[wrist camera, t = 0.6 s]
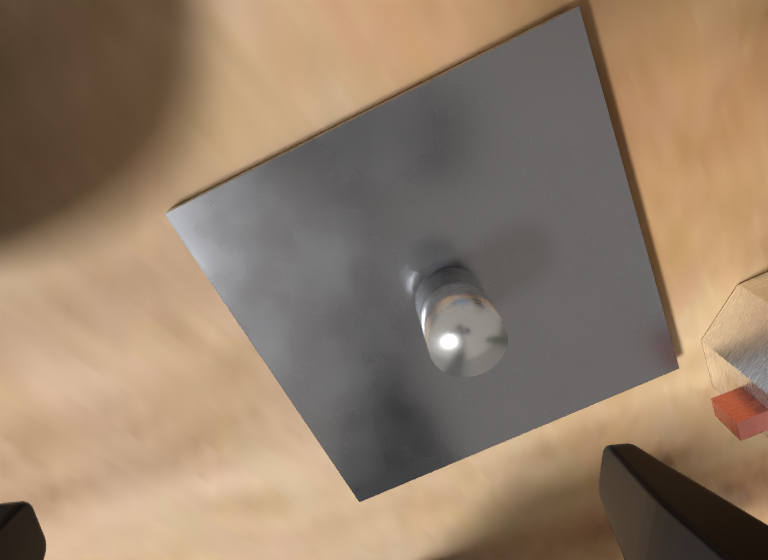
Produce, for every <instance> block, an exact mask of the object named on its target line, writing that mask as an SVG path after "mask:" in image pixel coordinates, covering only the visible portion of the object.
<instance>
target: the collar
mask: <svg viewBox="0 0 768 560" xmlns="http://www.w3.org/2000/svg"><path fill="white" fill-rule="evenodd" d="M701 341H702V345H703V349H704V353H705V357H706V361H707V365H708V369H709V373H710V377H711V381H712V385H713V388H714V389H715V390H716V391H717V392H719V393H720V394H721V395H719V396H717V397H714V398H712V399H711V400H712V404H713V408H714V412H715V416H716V417H717V418H718V419H719V420H720V421H721V422H722V423H723V424H724V425H725V426H726V427H727V428H728V429H729V430H730V431H731V432H732V433H733V434H734V435H735V436H737V437H738V438H739V439H740V440H741V441H742V440H744V439H747V438H749V437H752V436H754V435H757V434H759V433H763V434H765V435H766V436H767V437H768V272H766V273H764V274H761V275H759V276H757V277H754V278H752V279H750V280H747V281H745V282H743V283H740V284H738V285H737V287H736V288H735V290H734V291H733V293H732V294H731V296H730V297H729V299H728V300H727V302H726V303H725V305H724V306H723V308H722V309H721V311H720V313H719V314H718V316H717V317H716V319H715V320H714V322H713V323H712V325H711V326H710V328H709V329H708V331H707V332H706V334H705V335H704V337H703V338H702V340H701Z"/></svg>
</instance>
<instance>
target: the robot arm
mask: <svg viewBox="0 0 768 560" xmlns="http://www.w3.org/2000/svg"><path fill="white" fill-rule="evenodd" d="M599 493H600V498H601V501H602V503H603V506H604V508H605V511H606V513H607V516H608V519H609V521H610V524H611V526H612V529H613V531H614V534H615V536H616V539H617V541H618V544H619V546H620V549H621V551H622V554H623V556H624V559H625V560H768V525H766V524H765V523H763V522H761V521H760V520H758V519H756V518H755V517H753V516H751V515H750V514H748V513H747V512H745V511H743V510H742V509H740V508H738V507H737V506H735V505H733V504H732V503H730V502H728V501H727V500H725V499H723V498H722V497H720V496H718V495H717V494H715V493H713V492H712V491H710V490H708V489H707V488H705V487H703V486H702V485H700V484H698V483H697V482H695V481H693V480H692V479H690V478H688V477H687V476H685V475H683V474H682V473H680V472H678V471H677V470H675V469H673V468H672V467H670V466H668V465H667V464H665V463H663V462H662V461H660V460H658V459H657V458H655V457H653V456H652V455H650V454H648V453H647V452H645V451H643V450H642V449H640V448H638V447H637V446H635V445H633V444H617V445H609V446H607V447H606V448H605V449H604V451H603V456H602V464H601V471H600V479H599ZM45 552H46V540H45V537H44V534H43V532H42V529H41V527H40V524H39V522H38V519H37V517H36V514H35V512H34V509H33V507H32V505H31V504H29V503H28V502H25V501H18V502H8V503H1V504H0V560H44V556H45Z"/></svg>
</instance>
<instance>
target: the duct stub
mask: <svg viewBox="0 0 768 560" xmlns="http://www.w3.org/2000/svg"><path fill="white" fill-rule="evenodd" d="M165 216H166V217H167V219H168V220H169V222H170V223H171V224H172V226H173V227H174V229H175V230H176V232H177V233H178V235H179V236H180V238H181V239H182V241H183V242H184V244H185V245H186V247H187V248H188V250H189V251H190V253H191V254H192V255H193V257H194V258H195V260H196V261H197V263H198V264H199V266H200V267H201V269H202V270H203V272H204V273H205V275H206V276H207V278H208V279H209V281H210V282H211V284H212V285H213V287H214V288H215V289H216V291H217V292H218V294H219V295H220V297H221V298H222V300H223V301H224V303H225V304H226V306H227V307H228V309H229V310H230V312H231V313H232V315H233V316H234V318H235V319H236V320H237V322H238V323H239V325H240V326H241V328H242V329H243V331H244V332H245V334H246V335H247V337H248V338H249V340H250V341H251V343H252V344H253V346H254V347H255V349H256V350H257V352H258V353H259V354H260V356H261V357H262V359H263V360H264V362H265V363H266V365H267V366H268V368H269V369H270V371H271V372H272V374H273V375H274V377H275V378H276V380H277V381H278V383H279V384H280V385H281V387H282V388H283V390H284V391H285V393H286V394H287V396H288V397H289V399H290V400H291V402H292V403H293V405H294V406H295V408H296V409H297V411H298V412H299V414H300V415H301V417H302V418H303V419H304V421H305V422H306V424H307V425H308V427H309V428H310V430H311V431H312V433H313V434H314V436H315V437H316V439H317V440H318V442H319V443H320V445H321V446H322V448H323V449H324V450H325V452H326V453H327V455H328V456H329V458H330V459H331V461H332V462H333V464H334V465H335V467H336V468H337V470H338V471H339V473H340V474H341V476H342V477H343V479H344V480H345V482H346V483H347V484H348V486H349V487H350V489H351V490H352V492H353V493H354V495H355V496H356V498H357V499H358V501H359V502H361V501H363V500H366V499H368V498H370V497H373V496H375V495H378V494H380V493H382V492H385V491H387V490H390V489H392V488H394V487H397V486H399V485H402V484H404V483H406V482H409V481H411V480H413V479H416V478H418V477H421V476H423V475H425V474H428V473H430V472H433V471H435V470H437V469H440V468H442V467H445V466H447V465H449V464H452V463H454V462H457V461H459V460H461V459H464V458H466V457H468V456H471V455H473V454H476V453H478V452H480V451H483V450H485V449H488V448H490V447H492V446H495V445H497V444H500V443H502V442H504V441H507V440H509V439H512V438H514V437H516V436H519V435H521V434H523V433H526V432H528V431H531V430H533V429H535V428H538V427H540V426H543V425H545V424H547V423H550V422H552V421H555V420H557V419H559V418H562V417H564V416H567V415H569V414H571V413H574V412H576V411H578V410H581V409H583V408H586V407H588V406H590V405H593V404H595V403H598V402H600V401H602V400H605V399H607V398H610V397H612V396H614V395H617V394H619V393H622V392H624V391H626V390H629V389H631V388H633V387H636V386H638V385H641V384H643V383H645V382H648V381H650V380H653V379H655V378H657V377H660V376H662V375H665V374H667V373H669V372H672V371H674V370H677V369H679V365H678V362H677V358H676V355H675V351H674V347H673V344H672V340H671V336H670V333H669V329H668V326H667V322H666V318H665V315H664V311H663V308H662V304H661V300H660V297H659V293H658V289H657V286H656V282H655V279H654V275H653V271H652V268H651V264H650V260H649V257H648V253H647V250H646V246H645V242H644V239H643V235H642V231H641V228H640V224H639V221H638V217H637V213H636V210H635V206H634V203H633V199H632V195H631V192H630V188H629V184H628V181H627V177H626V174H625V170H624V166H623V163H622V159H621V155H620V152H619V148H618V145H617V141H616V137H615V134H614V130H613V127H612V123H611V119H610V116H609V112H608V108H607V105H606V101H605V98H604V94H603V90H602V87H601V83H600V79H599V76H598V72H597V69H596V65H595V61H594V58H593V54H592V51H591V47H590V43H589V40H588V36H587V32H586V29H585V25H584V22H583V18H582V14H581V11H580V7H579V6H577V7H572V8H570V9H568V10H566V11H564V12H562V13H560V14H558V15H556V16H554V17H552V18H550V19H548V20H546V21H544V22H542V23H540V24H538V25H536V26H534V27H532V28H530V29H528V30H526V31H524V32H522V33H520V34H518V35H516V36H514V37H512V38H510V39H508V40H506V41H504V42H502V43H500V44H498V45H496V46H494V47H492V48H490V49H488V50H486V51H484V52H482V53H480V54H478V55H476V56H474V57H472V58H470V59H468V60H466V61H464V62H462V63H460V64H458V65H456V66H454V67H452V68H450V69H448V70H446V71H444V72H442V73H440V74H438V75H436V76H434V77H432V78H430V79H428V80H426V81H424V82H422V83H420V84H418V85H416V86H414V87H412V88H410V89H408V90H406V91H404V92H402V93H400V94H398V95H396V96H394V97H392V98H390V99H388V100H386V101H384V102H382V103H380V104H378V105H376V106H374V107H372V108H371V109H369V110H367V111H365V112H363V113H361V114H359V115H357V116H355V117H353V118H351V119H349V120H347V121H345V122H343V123H341V124H339V125H337V126H335V127H333V128H331V129H329V130H327V131H325V132H323V133H321V134H319V135H317V136H315V137H313V138H311V139H309V140H307V141H305V142H303V143H301V144H299V145H297V146H295V147H293V148H291V149H289V150H287V151H285V152H283V153H281V154H279V155H277V156H275V157H273V158H271V159H269V160H267V161H265V162H263V163H261V164H259V165H257V166H255V167H253V168H251V169H249V170H247V171H245V172H243V173H241V174H239V175H237V176H235V177H233V178H231V179H229V180H227V181H225V182H223V183H221V184H219V185H217V186H215V187H213V188H211V189H209V190H207V191H205V192H203V193H201V194H199V195H197V196H195V197H193V198H191V199H189V200H187V201H185V202H183V203H181V204H179V205H177V206H175V207H173V208H171V209H169V210H168V211H167V212H166V213H165Z"/></svg>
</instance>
